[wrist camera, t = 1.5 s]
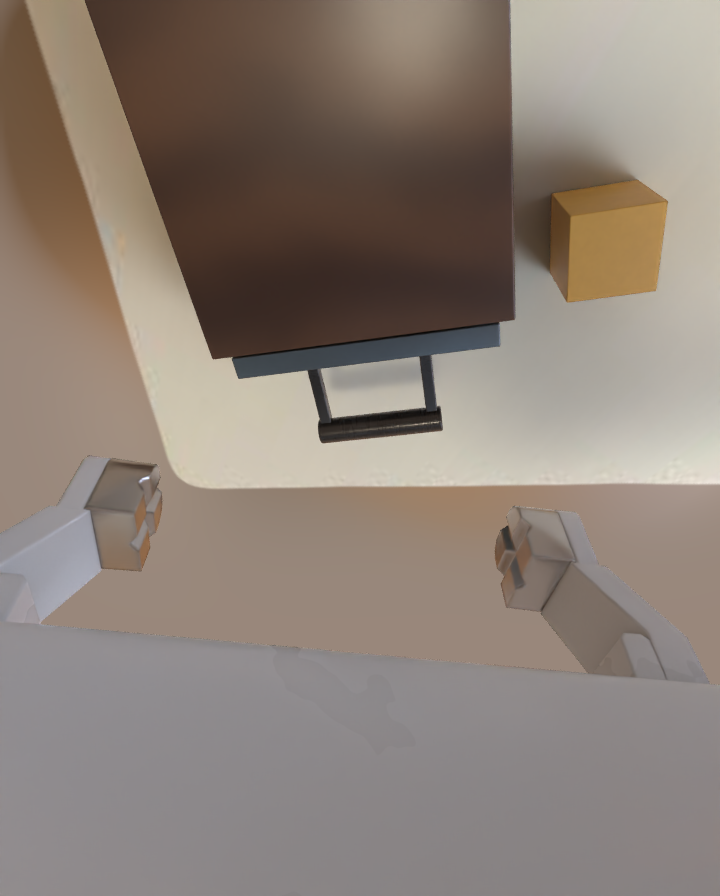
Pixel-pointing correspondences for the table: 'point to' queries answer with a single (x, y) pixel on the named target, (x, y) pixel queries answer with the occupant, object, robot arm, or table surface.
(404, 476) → the table surface
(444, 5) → the cabinet
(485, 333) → the drawer
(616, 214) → the block
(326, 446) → the table surface
